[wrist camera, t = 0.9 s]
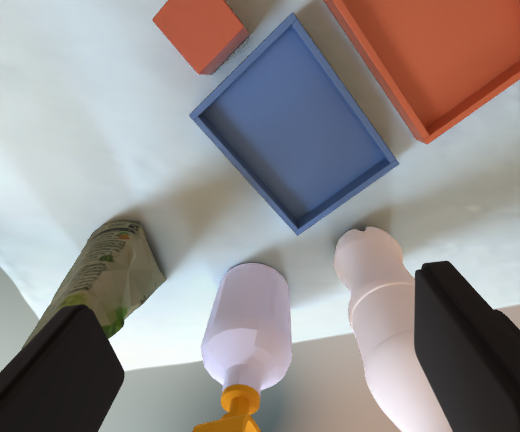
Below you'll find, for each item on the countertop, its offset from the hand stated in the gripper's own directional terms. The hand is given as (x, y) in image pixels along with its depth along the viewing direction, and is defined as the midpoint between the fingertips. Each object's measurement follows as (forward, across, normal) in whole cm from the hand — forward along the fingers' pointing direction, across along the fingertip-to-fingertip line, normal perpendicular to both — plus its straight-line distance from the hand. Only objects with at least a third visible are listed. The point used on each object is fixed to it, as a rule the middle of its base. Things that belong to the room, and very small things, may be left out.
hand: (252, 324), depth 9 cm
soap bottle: (+25, +5, +18) cm, 31 cm away
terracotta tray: (+25, -15, -8) cm, 30 cm away
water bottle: (+25, -8, +13) cm, 30 cm away
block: (+25, +4, -11) cm, 28 cm away
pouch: (+25, +20, +11) cm, 34 cm away
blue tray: (+25, -2, -1) cm, 25 cm away
